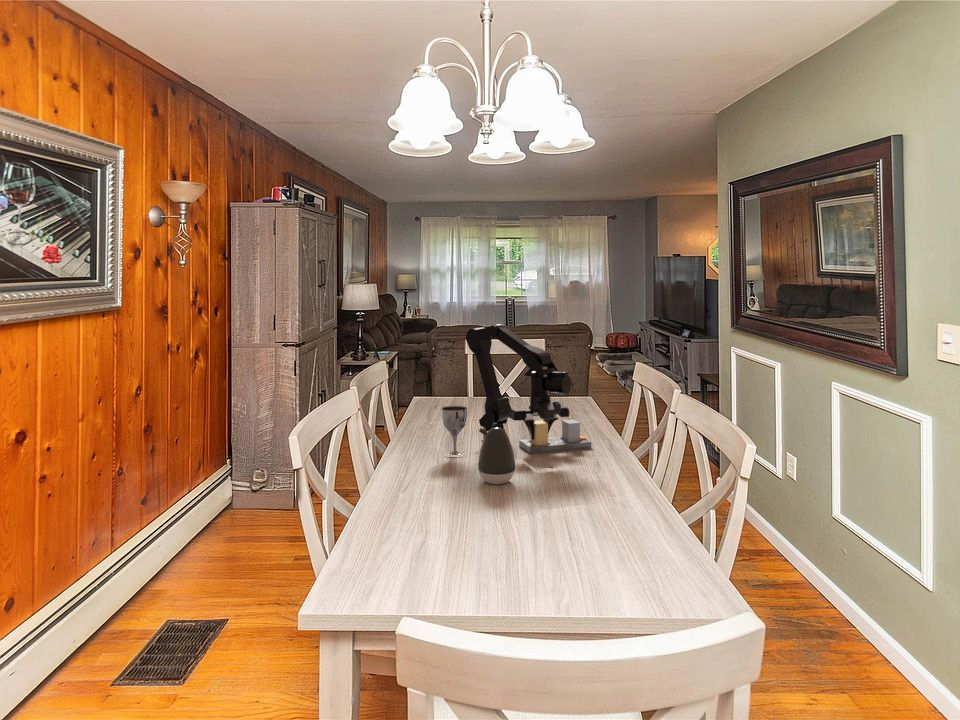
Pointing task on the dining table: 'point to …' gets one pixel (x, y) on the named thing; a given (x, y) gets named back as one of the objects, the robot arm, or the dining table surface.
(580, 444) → the grey socket board
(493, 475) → the dark grey egg shape
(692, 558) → the dining table surface
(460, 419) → the wine glass
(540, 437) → the ochre plug
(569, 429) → the grey-blue plug
